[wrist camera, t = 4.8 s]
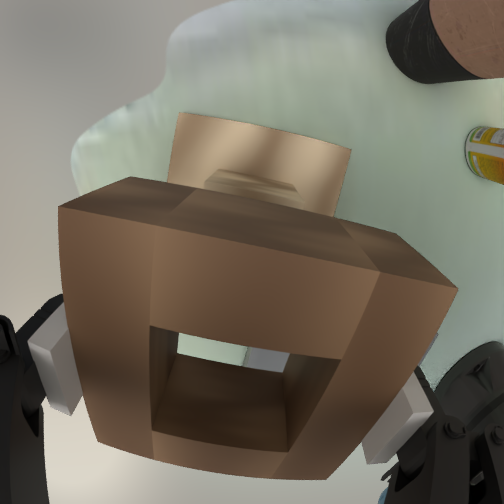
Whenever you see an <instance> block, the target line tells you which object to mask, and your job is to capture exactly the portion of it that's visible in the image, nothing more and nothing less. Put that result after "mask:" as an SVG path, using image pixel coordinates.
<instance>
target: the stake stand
mask: <svg viewBox="0 0 504 504" xmlns="http://www.w3.org/2000/svg"><path fill="white" fill-rule="evenodd" d="M350 153H351V149H348V148H345V147H342V146H338V145H335V144H331V143H328V142H324V141H321V140H317V139H313V138H309V137H306V136H302V135H298V134H294V133H289V132H285V131H281V130H277V129H272V128H268V127H263V126H258V125H253V124H248V123H243V122H238V121H232V120H227V119H221V118H215V117H208V116H202V115H195V114H187V113H180V112H179V115H178V120H177V125H176V130H175V136H174V141H173V147H172V153H171V159H170V166H169V172H168V179H167V183H173V184H179V185H184V186H190V187H195V188H201V189H206V190H211V191H217V192H222V193H227V194H232V195H237V196H242V197H247V198H251V199H256V200H261V201H266V202H270V203H275V204H279V205H284V206H288V207H293V208H297V209H301V210H306V211H310V212H314V213H318V214H322V215H327V216H331V217H333V216H334V213H335V209H336V206H337V202H338V198H339V195H340V191H341V188H342V184H343V180H344V176H345V173H346V169H347V165H348V161H349V157H350Z"/></svg>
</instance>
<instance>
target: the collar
mask: <svg viewBox="0 0 504 504" xmlns="http://www.w3.org/2000/svg"><path fill="white" fill-rule="evenodd" d="M58 232H59V233H58V234H59V256H60V268H61V281H62V290H63V299H64V306H65V313H66V320H67V326H68V328H69V333H70V339H71V344H72V349H73V354H74V359H75V363H76V368H77V372H78V376H79V380H80V384H81V388H82V392H83V397H84V400H85V404H86V408H87V411H88V414H89V417H90V421H91V424H92V426H93V430H94V432H95V435H96V438H97V441H98V442H100V443H103V444H106V445H108V446H111V447H114V448H117V449H120V450H123V451H126V452H129V453H133V454H136V455H139V456H143V457H147V458H150V459H153V460H157V461H161V462H165V463H170V464H173V465H178V466H183V467H187V468H192V469H197V470H203V471H209V472H215V473H222V474H228V475H236V476H245V477H255V478H267V479H268V478H269V479H286V480H326V479H327V478H328V477H329V476H330V475H331V474H332V473H333V472H334V471H335V470H336V469H337V468H338V467H339V466H340V465H341V464H342V463H343V462H344V461H345V460H346V459H347V457H348V456H349V455H350V454H351V453H352V452H353V451H354V450H355V448H356V447H357V446H358V445H359V444H360V443H361V441H362V440H363V438H364V437H365V436H366V435H367V434H368V432H369V431H370V430H371V429H372V427H373V426H374V425H375V424H376V422H377V421H378V420H379V418H380V417H381V416H382V415H383V413H384V412H385V411H386V409H387V408H388V407H389V405H390V404H391V402H392V401H393V400H394V398H395V397H396V395H397V394H398V393H399V391H400V390H401V388H402V387H403V386H404V385H405V383H406V382H407V381H408V379H409V377H410V376H411V374H412V373H413V371H414V370H415V368H416V367H417V365H418V363H419V362H420V360H421V359H422V357H423V355H424V354H425V352H426V350H427V349H428V347H429V345H430V343H431V342H432V340H433V338H434V336H435V335H436V333H437V331H438V329H439V327H440V325H441V323H442V322H443V320H444V318H445V316H446V314H447V312H448V310H449V308H450V306H451V304H452V302H453V300H454V298H455V295H456V293H457V291H458V288H457V287H456V286H455V285H454V284H453V283H452V282H451V281H450V280H449V279H448V278H446V277H445V276H444V275H443V274H442V273H441V272H440V271H439V270H438V269H437V268H435V267H434V266H433V265H432V264H431V263H430V262H429V261H428V260H426V259H425V258H424V257H423V256H422V255H421V254H420V253H418V252H417V251H416V250H415V249H414V248H413V247H411V246H410V245H409V244H408V243H407V242H405V241H404V240H403V239H402V238H401V237H399V236H398V235H397V234H396V233H392V232H388V231H385V230H381V229H377V228H374V227H370V226H366V225H362V224H358V223H355V222H351V221H347V220H343V219H339V218H335V217H331V216H327V215H322V214H318V213H314V212H310V211H306V210H301V209H297V208H293V207H288V206H284V205H279V204H275V203H270V202H266V201H261V200H256V199H251V198H247V197H242V196H237V195H232V194H227V193H222V192H217V191H211V190H206V189H201V188H195V187H190V186H184V185H179V184H173V183H167V182H161V181H155V180H149V179H143V178H137V177H128V178H125V179H122V180H120V181H117V182H115V183H112V184H109V185H107V186H104V187H102V188H99V189H97V190H95V191H92V192H90V193H87V194H85V195H83V196H80V197H78V198H76V199H74V200H71V201H69V202H67V203H64V204H63V205H60V206H58ZM179 333H184V334H188V335H193V336H197V337H202V338H207V339H211V340H216V341H221V342H226V343H232V344H237V345H243V346H248V347H254V348H260V349H266V350H272V351H279V352H285V353H290V354H289V357H288V360H287V362H286V365H285V367H284V370H283V372H275V371H268V370H262V369H255V368H249V367H243V366H237V365H232V364H226V363H221V362H216V361H211V360H206V359H201V358H197V357H192V356H187V355H183V354H179V353H177V347H178V336H179Z"/></svg>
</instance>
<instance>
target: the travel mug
mask: <svg viewBox="0 0 504 504" xmlns="http://www.w3.org/2000/svg"><path fill="white" fill-rule="evenodd" d="M386 44H387V48H388V52H389V54H390V56H391V58H392V60H393V61H394V63H395V64H396V66H397V67H398V68H399V69H400V70H401V71H402V72H403V73H404V74H405V75H406V76H408V77H409V78H411V79H413V80H415V81H417V82H420V83H425V84H435V83H444V82H453V81H464V80H478V79H493V78H503V77H504V0H419V1H418V2H416V3H415V4H414V5H412V6H411V7H410V8H409V9H407V10H406V11H405V12H404V13H402V14H401V15H400V16H399V17H397V18H396V19H395V20H394V21H393V22H392V23H391V24H390V26H389V28H388V30H387V34H386Z"/></svg>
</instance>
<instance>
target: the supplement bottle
mask: <svg viewBox="0 0 504 504" xmlns="http://www.w3.org/2000/svg"><path fill="white" fill-rule="evenodd" d="M466 158H467V162H468V164H469V167H470V168H471V170H472V171H473V172H474V173H475V174H476V175H478V176H480V177H482V178H485V179H488V180H491V181H494V182H497V183H500V184H503V185H504V129H500V128H490V127H478V128H475V129H474V130H472V131H471V133H470V134H469V136H468V138H467V141H466Z"/></svg>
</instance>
